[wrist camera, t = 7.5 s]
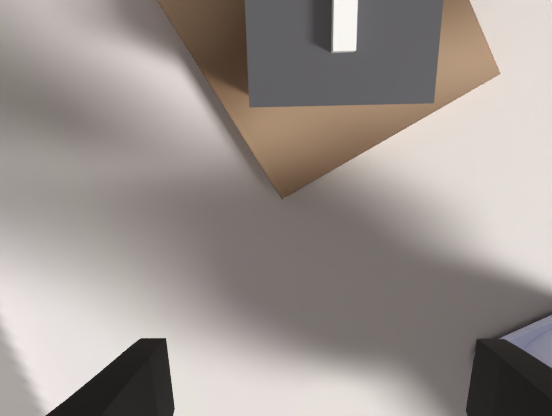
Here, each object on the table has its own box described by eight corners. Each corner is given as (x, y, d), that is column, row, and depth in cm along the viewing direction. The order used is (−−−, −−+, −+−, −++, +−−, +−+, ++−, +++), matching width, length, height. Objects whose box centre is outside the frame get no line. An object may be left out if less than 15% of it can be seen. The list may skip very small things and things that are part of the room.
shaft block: (488, 74, 16) (558, 70, 12) (282, 193, 18) (279, 226, 14) (378, -180, 14) (417, -296, 10) (153, -14, 16) (103, -51, 12)
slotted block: (390, 97, 16) (440, 104, 11) (261, 100, 16) (247, 108, 11) (399, -51, 14) (463, -131, 9) (256, -46, 14) (237, -121, 9)
